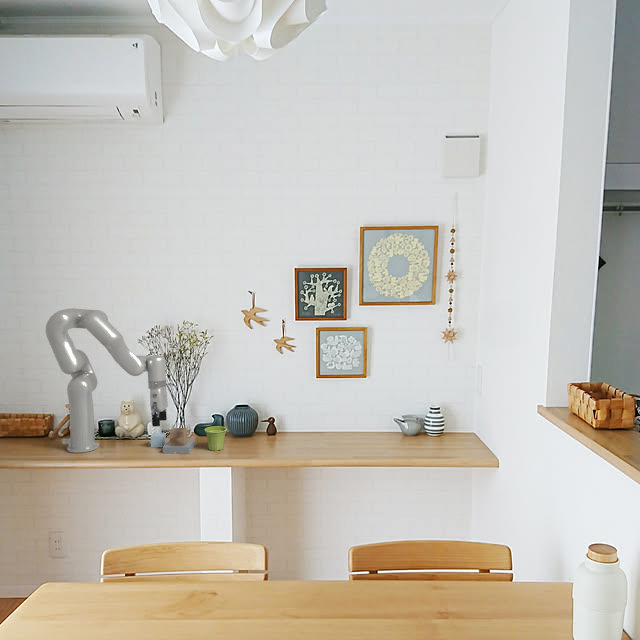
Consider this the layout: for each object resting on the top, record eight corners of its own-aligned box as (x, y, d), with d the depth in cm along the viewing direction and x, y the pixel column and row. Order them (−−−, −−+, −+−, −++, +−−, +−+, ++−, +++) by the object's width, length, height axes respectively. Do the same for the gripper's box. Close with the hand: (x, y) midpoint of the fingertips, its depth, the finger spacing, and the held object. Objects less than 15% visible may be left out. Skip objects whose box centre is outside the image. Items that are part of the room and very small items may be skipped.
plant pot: (229, 446, 259) (229, 426, 258) (224, 452, 250) (223, 432, 249) (208, 445, 260) (208, 425, 259) (202, 452, 251) (201, 431, 250)
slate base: (162, 453, 249) (162, 447, 249) (170, 445, 260) (170, 439, 260) (189, 453, 249) (188, 447, 249) (195, 445, 260) (195, 440, 260)
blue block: (150, 447, 257) (150, 436, 257) (154, 444, 262) (154, 433, 262) (162, 447, 257) (162, 436, 257) (165, 444, 262) (165, 433, 262)
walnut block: (170, 445, 251) (169, 431, 251) (173, 441, 257) (173, 427, 257) (184, 445, 251) (183, 431, 251) (187, 441, 257) (187, 427, 257)
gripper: (160, 388, 249) (162, 428, 250) (171, 380, 266) (173, 417, 267) (142, 388, 249) (144, 428, 250) (154, 380, 266) (157, 418, 268)
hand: (159, 423), depth 259 cm, fingers open, 9 cm apart
